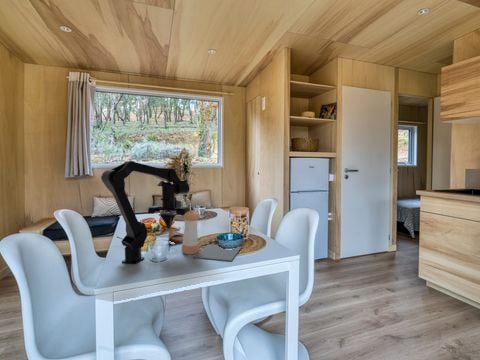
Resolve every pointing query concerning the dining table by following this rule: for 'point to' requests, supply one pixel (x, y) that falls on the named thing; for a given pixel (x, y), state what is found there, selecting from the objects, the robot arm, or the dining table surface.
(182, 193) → the robot arm
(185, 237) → the pepper shaker
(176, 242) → the sunglasses case
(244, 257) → the dining table surface
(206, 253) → the rubber mat
